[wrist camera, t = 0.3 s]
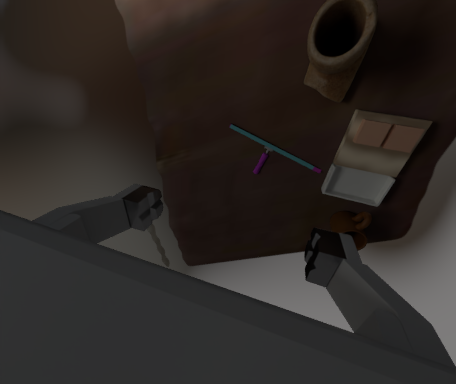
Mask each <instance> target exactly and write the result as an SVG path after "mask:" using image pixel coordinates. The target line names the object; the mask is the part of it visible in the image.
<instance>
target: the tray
mask: <svg viewBox="0 0 456 384" xmlns="http://www.w3.org/2000/svg"><path fill="white" fill-rule="evenodd" d="M394 182H395V179H394V178H393V177H391V176H387V175H382V174H377V173H372V172H367V171H363V170H358V169H353V168H348V167H344V166H339V165H335V164H334V163H332V165H331V167H330V169H329V172H328V174H327V176H326V179H325V181H324V183H323V185H322V188H321V190H322V193H323V194H327V195H331V196H336V197H340V198H344V199H348V200H352V201H356V202H360V203H364V204H369V205H373V206H377V207H378V206H379V204H380V203H381V201H382V200H383V198H384V197H385V195H386V194H387V192H388V191H389V189H390V188H391V186H392V185H393V183H394Z"/></svg>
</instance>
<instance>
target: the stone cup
mask: <svg viewBox="0 0 456 384" xmlns="http://www.w3.org/2000/svg"><path fill="white" fill-rule="evenodd" d="M377 20H378V5H377V1H376V0H327V1H326V2H325V3H324V4H323V5H322V6H321V8H320V9H319V11H318V12H317V14H316V15H315V17H314V19H313V22H312V24H311V27H310V30H309V34H308V46H307V48H308V57H309V60H310V64H309V67H308V70H307V73H306V76H305V79H304V84H305V85H307V86H310V87H311V88H313V89H316V90H317V91H319V92H320V93H321V94H322V95H323V96H325V97H326V98H328V99H330V100H333V101H335V102H341V101H342V100H343V98H344V96H345V94H346V92H347V91H348V89H349V87H350V85H351V83H352V81H353V79H354V77H355V74H356V72H357V70H358V68H359V66H360V64H361V62H362V60H363V58H364V56H365V54H366V51H367V49H368V47H369V44H370V42H371V40H372V37H373V35H374V32H375V29H376V25H377Z"/></svg>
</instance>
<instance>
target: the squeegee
mask: <svg viewBox="0 0 456 384" xmlns="http://www.w3.org/2000/svg"><path fill="white" fill-rule="evenodd" d="M230 128H232V129H234V130H236V131H237V132H239V133H241V134H243V135H245V136H247V137H249V138H251V139H253V140H255V141H257V142H259V143H261V144H263V145H265V148H266V149H267V151H266V154H265V153H263V154H262V156H261V159H260V160H259V163H258V164H257V166H256V167H255V169H254V171H253V172H254V173H255V174H258V173H259V171H260V169H261V167H262V165H263V164H264V162H265V160H266V159H267V157H268V155H267V153H268V151H269V150H270V151H272V152H273V150H275V151H277V152H279V153H281V154H283V155H285V156H286V157H288V158H290V159H292V160H294V161H296V162H298V163H300V164H302V165H304V166H306V167H308V168H310V169H312V170H314V171H316V172H318V173H320V172H321V171H322V170H320V169H318V168H316V167H314V166H312V165H310V164H309V163H307V162H305V161H303V160H301V159H299V158H297V157H295V156H293V155H291V154H289V153H287V152H285V151H283V150H281V149H279V148H277V147H275V146H273V145H271V144H269V143H267V142H265V141H263V140H261V139H259V138H257V137H255V136H254V135H252V134H250V133H248V132H246V131H244V130H242V129H240V128H238V127H236V126H234V125H232V123H231V124H230Z"/></svg>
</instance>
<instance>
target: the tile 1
mask: <svg viewBox="0 0 456 384" xmlns="http://www.w3.org/2000/svg"><path fill="white" fill-rule="evenodd" d="M391 125H392V124H390V123H387V122H380V121H374V120H368V119H363V120H362V122H361V124H360V126H359V128H358V130H357V133H356V135H355V137H354V139H353V142H354V143H358V144H363V145H369V146H374V147H380V145H381V143H382V141H383V139H384V138H385V136H386V134H387V132H388V130H389V129H390V127H391Z"/></svg>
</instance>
